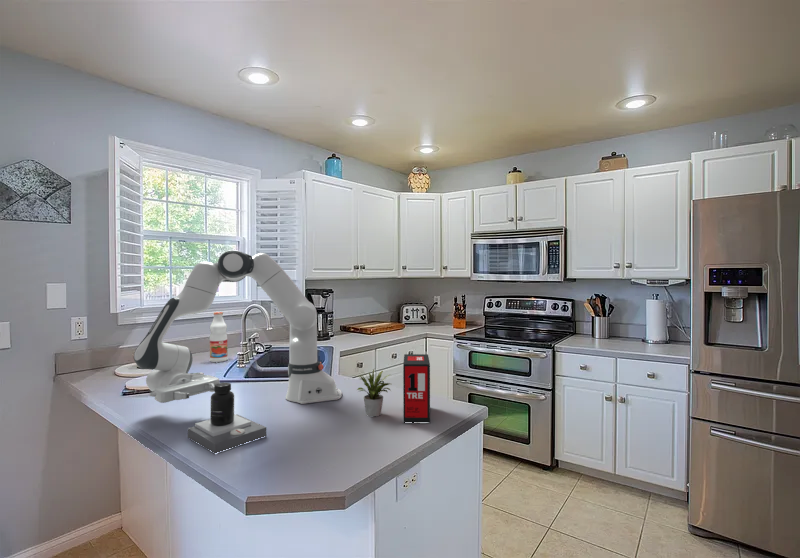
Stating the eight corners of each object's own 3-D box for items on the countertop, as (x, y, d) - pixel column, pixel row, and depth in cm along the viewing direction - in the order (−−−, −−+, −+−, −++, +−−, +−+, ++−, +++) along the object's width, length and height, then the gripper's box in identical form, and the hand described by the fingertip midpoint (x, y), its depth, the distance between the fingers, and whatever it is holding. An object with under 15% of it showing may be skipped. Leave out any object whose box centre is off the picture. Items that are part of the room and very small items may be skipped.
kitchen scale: (237, 423, 138) (237, 411, 138) (266, 436, 127) (266, 424, 127) (187, 437, 126) (187, 424, 126) (215, 454, 114) (215, 440, 114)
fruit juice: (225, 358, 243) (225, 311, 242) (229, 361, 235) (228, 312, 235) (208, 360, 237) (207, 312, 237) (211, 363, 230) (211, 313, 229)
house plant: (357, 424, 136) (357, 376, 136) (345, 411, 149) (345, 367, 149) (396, 418, 142) (396, 371, 142) (382, 406, 155) (382, 363, 154)
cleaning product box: (430, 423, 137) (429, 364, 137) (403, 423, 138) (403, 364, 137) (428, 407, 154) (428, 354, 154) (404, 407, 154) (404, 354, 154)
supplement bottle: (211, 428, 123) (211, 388, 123) (209, 421, 129) (209, 383, 129) (235, 424, 127) (235, 385, 126) (232, 417, 133) (232, 380, 132)
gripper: (146, 384, 133) (168, 390, 126) (205, 371, 150) (228, 376, 143) (146, 403, 133) (168, 411, 126) (206, 388, 150) (228, 394, 143)
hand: (201, 392), depth 134 cm, fingers open, 8 cm apart
